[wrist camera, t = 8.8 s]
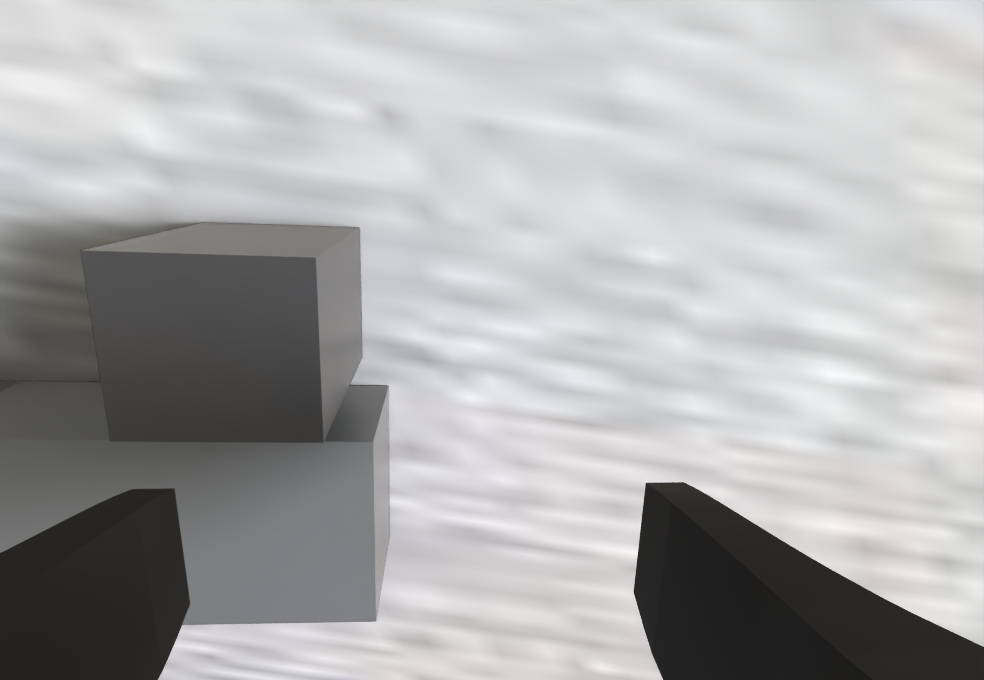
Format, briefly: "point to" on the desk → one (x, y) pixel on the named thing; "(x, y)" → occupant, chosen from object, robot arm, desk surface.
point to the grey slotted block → (222, 419)
